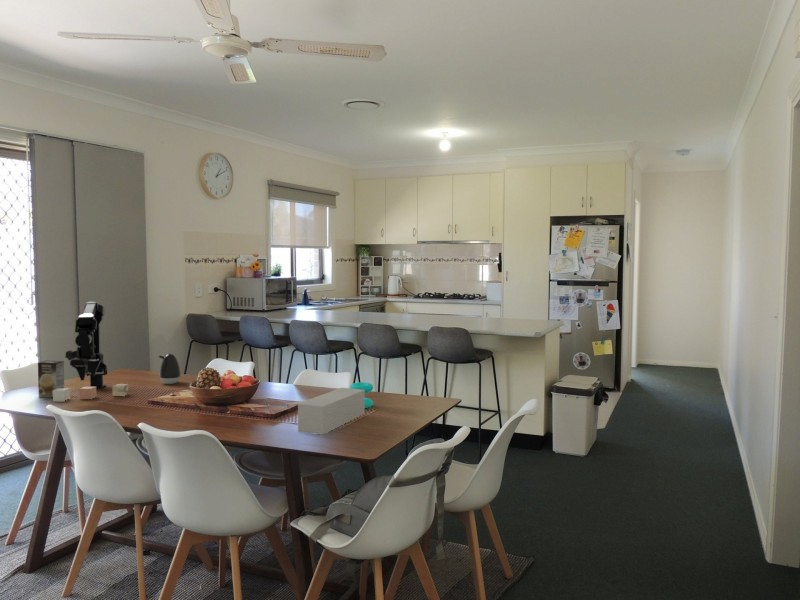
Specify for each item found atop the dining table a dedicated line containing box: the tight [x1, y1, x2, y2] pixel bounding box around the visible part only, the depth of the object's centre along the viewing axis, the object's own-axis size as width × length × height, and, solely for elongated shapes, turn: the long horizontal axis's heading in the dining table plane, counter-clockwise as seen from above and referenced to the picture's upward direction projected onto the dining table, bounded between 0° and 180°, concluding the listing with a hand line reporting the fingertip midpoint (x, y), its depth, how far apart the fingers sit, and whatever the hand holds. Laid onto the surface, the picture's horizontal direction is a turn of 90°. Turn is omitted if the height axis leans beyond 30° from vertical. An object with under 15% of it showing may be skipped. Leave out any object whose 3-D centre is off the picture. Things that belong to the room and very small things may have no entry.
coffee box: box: [37, 359, 65, 398], centre depth 291 cm, size 9×6×16 cm
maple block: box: [112, 383, 129, 397], centre depth 293 cm, size 5×5×5 cm
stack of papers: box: [297, 387, 366, 435], centre depth 245 cm, size 32×11×11 cm, turn 155°
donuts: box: [349, 381, 374, 408], centre depth 272 cm, size 10×10×10 cm
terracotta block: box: [79, 385, 98, 400], centre depth 287 cm, size 5×5×5 cm
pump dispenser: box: [158, 353, 182, 385], centre depth 321 cm, size 10×10×15 cm
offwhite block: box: [52, 387, 71, 402], centre depth 283 cm, size 5×5×5 cm
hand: (87, 378), depth 286 cm, fingers open, 9 cm apart
